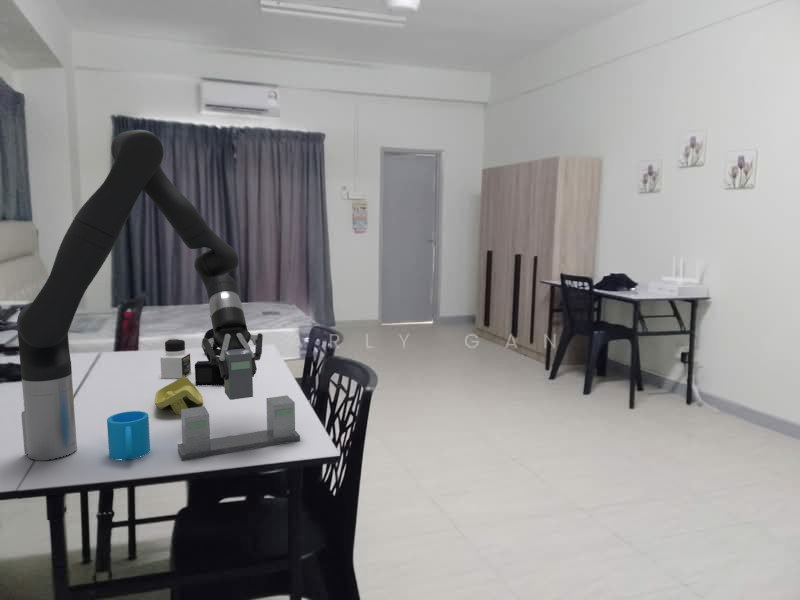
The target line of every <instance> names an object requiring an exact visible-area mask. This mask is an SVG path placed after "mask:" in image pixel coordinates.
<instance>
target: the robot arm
mask: <svg viewBox="0 0 800 600" xmlns="http://www.w3.org/2000/svg"><path fill="white" fill-rule="evenodd" d="M110 150H111V156H112V158H113V160H114V162H113V164H112V167H111V169H110V171H109V173H108V174H107V176H106V178H105V179H104V181H103V183H102V184H101V185H100V186H99V187H98V188H97V190H96V191H95V192H93V193H92V195H91V196H90V197H89V198H88V199H87V200H86V201H85V202H84V204H83V205H82V207H80V209H79V210H78V212H77V213H76V215H75V216H74V217H73V219H72V222H71V223H70V225H69V227H68V229H67V230H66V232H65V234H64V236H63V238H62V240H61V243H60V244H59V247H58V249H57V253H56V256H55V259H54V262H53V265H52V268H51V271H50V273H49V276H48V278H47V280H46V281H45V284H44V285H43V286H42V288H41V289H40V291H39V293H38V294H37V296H36V297H35V298H34V299H33V301H32V302H30V303H28V304H27V305H25V306H23V308H21V310H20V312H19V314H18V315H17V320H16V327H17V339H18V341H17V342H18V349H19V350H18V351H19V364H20V375H21V386H22V387H21V388H22V395H23V396H22V397H23V398H22V400H23V407H24V410H23V411H21V426H22V427H21V428H22V439H23V450H24V455H25V454H28V455H27V457H28V459H30V458H31V459H30V460H32V459H35V460H34V461H50V460H49V459H51V460H56V459H55V458H57V459H60V458H59V457H61V458H64V457H67V456H69V454H70V455H72V454H74V453H75V452H76V451H77V450H76V449H78V445H77V444H78V443H77V427H76V414H75V401H74V388H73V387H74V386H73V371H72V361H71V354H70V342H69V331H70V328H71V325H72V323H73V320H74V318H75V315H76V312H77V310H78V308H79V306H80V303H81V301H82V299H83V297H84V295H85V293H86V292H87V290H88V289H89V286H90V285H91V283H92V282H93V280H94V279H95V278H96V276H97V275H98V273H99V271H100V270H101V268H102V267H103V265H104V263H105V262H106V260H107V258H108V257H109V255H110V253H111V252H112V250H113V249H114V246H115V244H116V242H117V241H118V239H119V237H120V234H121V233H122V230H123V228H124V227H125V224H126V223H127V220H128V219H129V217H130V215H131V213H132V210H133V208H134V206H135V205H136V201H137V199H138V198H139V196H140V195H141V194H142V192H143V191H144V193H145V194H146V195H147V196H148V197H149V198H150V200H151V201H152V202H153V203H154V204H155V205H156V207H157V209H159V210H160V212H161V213H162V215H163V216H164V217H165V219H166V220H167V222H168V223H169V224H170V226H171V227H172V228H173V230H174V231H175V233H176V234H177V235H178V236H179V238H180V239H181V240H182V242H183V243H184V245H185V246H186V247H187V248H189V250H196V249H197V250H198V249H202V248H207V249H209V250H207V251H205V252H202V253H200V254H199V255H197V256H196V258H195V260H194V269H195V271H196V273H197V275H198V276H199V277H200V279H201V281H202V283H203V285H204V288H205V289H206V293H207V298H208V303H209V305H208V306H209V309H208V310H209V317H210V321H211V326H212V329H213V332H214V336H213V338H211V339H207V338H204V337H203V338H202V341H201V348H202V351H203V354H204V353H205V354H204V355H205V357H206V358H207V361H209V363H210V364H211V365H214V364H216V365H218V366H219V368H220V374H221V377H222V378H224V379H225V380H228V377H229V373H228V368H227V363H226V361H225V351H227V350H231V349H241V348H243V349H248V350H249V351H250V352H251V353H252V378H254V377H255V375H256V373H257V370H258V368H257V363H256V361H260V360H261V356H262V354H263V338H264V337H263V334H262V333H261V332H258V333H257V335H255V334H252V333H251V332H249V330H248V327H247V322H246V316H245V314H244V309H243V308H244V307H243V305H242V301H241V299H240V296H239V291H238V288H237V282H236V281H235V279H234V278H233V276H230V275H228V273H230V272H233V271H234V270H236V269H237V268H238V265H239V256H238V254H237V252H236V250H235V249H234V248H233V247H232V246H230V244H228V243H227V242H226V241H224V240H223V239H222V238H221V237H220V236H218V234H216V233H215V231H213V230H212V229H211V227H210V226H209V225H208V223H207V222H206V221H205V219H204V218H203V217H202V214H201V213H200V212H199V211H198V209H197V208H196V207H195V206H194V204H192V202H190V200H189V199H188V198H187V197H186V196H185V195H184V194H183V193H182V192H181V191H180V190H179V189H178V188H177V187H176V186H175V185H174V184H173V182H171V179H169V178H168V176H167V175H166V174H165V172H164V171H163V169H162V167H161V164H162V162H163V159H164V146H163V143H162V141H161V139H160V138H159V137H158V136H157V135H156V134H155V133H153V132H152V131H148V130H145V129H132V130H127V131H123V132H120V133H118V134H117V135H116V136H115V137H114V139H113V140H112V142H111V147H110ZM250 341H251V342H252V344H253V345H254V346H255V351H254V352H253V351H252V349H251V346H250V344H249V343H250ZM213 343H214V344H215V345H216V346H218V349H221V354H220V355H219V356H216V355H215V353H214V351H213V348H212V347H213ZM74 451H75V452H74ZM66 455H67V456H66ZM63 456H64V457H63Z"/></svg>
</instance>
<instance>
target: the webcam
mask: <svg viewBox="0 0 800 600" xmlns="http://www.w3.org/2000/svg"><path fill="white" fill-rule="evenodd" d="M213 336H214V332H213V328H210V329H208V330H207V331H206V332H205V334H204V336H203V338H207V339H211V338H213ZM212 349H213V351H214V353H215V355H219V356H220V354H221V349H220V348H219V347H218V346H216V345H215V344H214V343H213V347H212ZM203 354H204V355H205V353H204V352H203Z"/></svg>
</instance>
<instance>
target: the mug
mask: <svg viewBox="0 0 800 600" xmlns="http://www.w3.org/2000/svg"><path fill="white" fill-rule="evenodd" d="M106 425H107V427H106V428H107V441H108V442H107V444H108V457H109V458H110V457H111V458H113V459H112V460H114V459H122V460H121V461H127V460H126V459H131V460H133V459H132V458H136V459H138V458H137V457H139V458H141V457H140V456H142V457H144V456H146V455H148V454H149V453H150V452H149V451H151V439H150V421H149V413H148V412H145V411H140V410H129V411H122V412H118V413H114V414H112V415H110V416H109V417H107V418H106ZM148 452H149V453H148ZM147 453H148V454H147ZM145 454H146V455H145ZM143 455H144V456H143ZM111 458H110V459H111Z"/></svg>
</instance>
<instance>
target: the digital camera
mask: <svg viewBox="0 0 800 600" xmlns="http://www.w3.org/2000/svg"><path fill="white" fill-rule="evenodd" d="M194 379H195V381H194V382H195V387H198V385H212V386H225V384H224V378H222V377H221V374H220V368H219V366H218V365H216V364H214V365H211V364H210V363H209V361H208V360H197V361H196V362H195V363H194Z"/></svg>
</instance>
